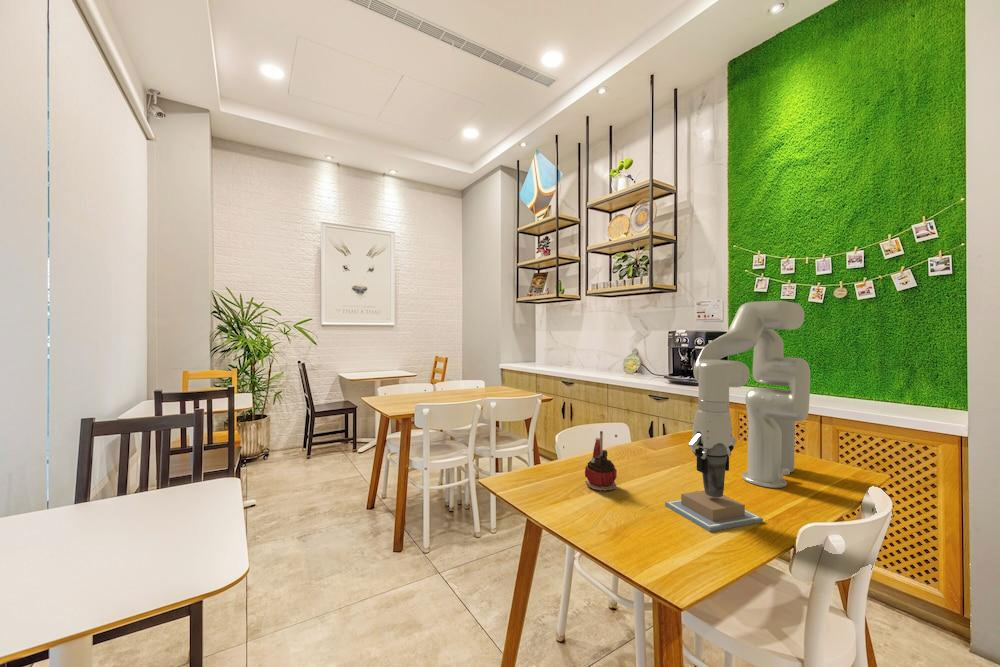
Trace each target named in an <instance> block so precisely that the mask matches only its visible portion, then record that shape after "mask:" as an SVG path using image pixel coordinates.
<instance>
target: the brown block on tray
mask: <svg viewBox="0 0 1000 667" xmlns="http://www.w3.org/2000/svg"><path fill="white" fill-rule="evenodd" d="M680 495H681V498H680V499H677V500H671V501H665V503H664V506H665V507H666V508H669V509H670V510H672V511H674V512H675V513H677V514H679V515H680V516H682V517H683V516H684V518H686V519H687V520H688V521H690V520H691V523H694V524H696V525H697V526H699V527H700V526H701V528H702V529H704V530H705V531H707V532H709V533H711V531H712V532H717V530H718V531H721V530H722V529H723V530H726V529H727V528H728V529H732V528H733V527H734V528H739V527H745V526H749V524H750V525H754V524H753V523H755V524H759V523H758V522H761V523H763V522H764V517H761V516H760V515H757V514H755V513H753V512H751V511H748V510H747V509H746V507H745V506H746V505H745V504H744V503H742V502H740V501H737V500H735V499H734V498H730V497H729V496H727V495H724V494H723V496H722V497H711V496H708V495H706V494H705V490H700V491H692V492H685V493H681V494H680ZM728 529H727V530H728ZM723 530H722V531H723Z"/></svg>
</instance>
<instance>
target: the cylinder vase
mask: <svg viewBox="0 0 1000 667" xmlns="http://www.w3.org/2000/svg"><path fill="white" fill-rule="evenodd" d="M774 420H775V421H776V422H777V424H778V425H779V427H780V429H781V432H782V451H781V469H789V470H790V472H791V473H793V472H794V471H795V442H796V441H795V435H796V434H795V431H796V430H795V428H796V427H795V426H796V421H792V420H786V419H779V418H774Z"/></svg>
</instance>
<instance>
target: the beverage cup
mask: <svg viewBox="0 0 1000 667" xmlns="http://www.w3.org/2000/svg"><path fill="white" fill-rule="evenodd" d="M702 446H703V444H702ZM703 450H704V449H701V452H703ZM727 456H728V453H727V449H726V447H725V445H724V444H722V443H718V444H716V445H714V446H713V448H712V449H708V453H707V456H706V458H705V459H707V460H708V470H707V474H704V473H702V472H701V474H702V484H703V489H704V490H705V494H706V495H708V496H711V497H722V496H723V495H724V491H725V478H726V470H725V467H726V461H727ZM704 490H703V491H704Z"/></svg>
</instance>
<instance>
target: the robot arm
mask: <svg viewBox="0 0 1000 667" xmlns="http://www.w3.org/2000/svg"><path fill="white" fill-rule="evenodd" d="M804 321H805V311H804V309H803V307H802V306H801V305H800V304H799V303H797V302H794V301H793V302H791V301H785V300H766V301H765V300H764V301H763V300H761V301H760V300H759V301H750V302H745V303H743V304H741V305H740V306H739V307H738V309H737V311H736V313H735V316H734V317H733V319H732V321H731V324H730V325H729V328H728V330H727V332H726V333H724V334H722V335H720V336H718V337H717V338H715V339H713V340H712V341H711V342H709V343H707V344H706V345H705V346H704V347H703V348H702V349H701V351H700V353H699V355H698V356H697V359H696V360H695V363H694V366H693V377H694V379H695V380H696V381H697V383H698V399H697V400H698V402H697V403H698V405H697V407H698V409H697V410H695V414H694V418H693V423H692V424H693V426H692V437H691V438H692V439H691V440H690V442H689V443H688V444H687V446H688V448H690V450H691V452H692V453H693V454H694V456H695V457H696V471H698V472H699V473H701V474H702V473H704V474H707V470H708V460H707V459H705V458H706V456H707V453H708V449H712V448H713V446H714V445H716V444H718V443H722V444H724V445H725V447H726V449H727V453H728V456H727V461H726V467H725V472H726V471H730V457H731V456H732V451H733V450H734V447H735V446H736V444H737V443H738V440H737V439H736V438H735V436H733V425H732V424H733V422H732V417H731V412H730V406H731V404H730V388H740V387H744V386H745V385H746V384H747V383H748V382H749V380H750V377H751V376H750V375H751V372H750V369H749V367H748V366H747V365H746V364H745V363H744V362H742V361H738V360H727V359H723V358H725V357H729V356H733V355H737V354H741V353H744V352H747V351H750V350H753V357H752V378H753V380H754V381H755V382H757V383H760V384H764V385H771V386H772V385H773V386H781V387H782V386H783V387H789V388H790V390H786V389H777V388H768V387H755V388H751V389H749V390H748V391H747V392H746V394H745V398H744V399H745V406H746V412H747V413H746V414H747V428H748V430H747V431H748V433H747V471H745V472H743V473H742V479H743V480H744V481H746V482H747V483H750V484H753V485H756V486H760V487H765V488H771V489H772V488H773V489H780V488H786V487H787V485H788V484H787V483H788V482H787V480H786V479H785V478H783V476H787V475H790V474H791V473H790V470H789V469H781V451H782V432H781V429H780V427H779V425H778V424H777V422H776V421H775V420H774V418H779V419H786V420H792V421H795V422H801V421H803V422H804V421H805V420H806V419H807V417H808V415H809V411H810V410H809V409H810V393H811V369H810V368H811V367H810V365H809V363H808V362H807V361H806V360H805V359H804V358H801V357H790V356H789V357H786V356H784V347H785V346H784V344H785V343H784V340H783V338H782V337H781V336H780V334H778V333H777V332H776V330H798V329H799V328H801V326H803V324H804ZM702 444H703V446H702ZM701 449H704V450H703V452H701Z"/></svg>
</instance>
